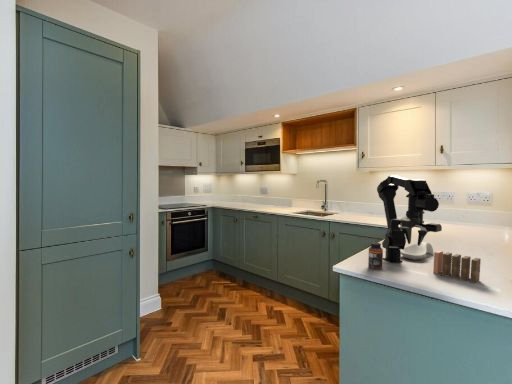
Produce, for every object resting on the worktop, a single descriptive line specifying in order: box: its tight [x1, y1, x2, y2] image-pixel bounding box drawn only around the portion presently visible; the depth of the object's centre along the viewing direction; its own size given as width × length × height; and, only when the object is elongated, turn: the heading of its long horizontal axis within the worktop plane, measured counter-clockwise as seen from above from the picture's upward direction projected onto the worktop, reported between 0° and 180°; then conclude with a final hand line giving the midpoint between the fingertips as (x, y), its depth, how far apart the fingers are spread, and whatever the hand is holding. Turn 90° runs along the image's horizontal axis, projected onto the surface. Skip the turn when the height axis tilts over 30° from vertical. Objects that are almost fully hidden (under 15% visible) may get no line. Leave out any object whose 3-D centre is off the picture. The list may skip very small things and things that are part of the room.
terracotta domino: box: [432, 250, 444, 275], centre depth 122 cm, size 2×5×9 cm, turn 127°
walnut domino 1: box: [441, 251, 453, 277], centre depth 119 cm, size 2×5×9 cm, turn 127°
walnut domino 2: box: [450, 253, 462, 279], centre depth 117 cm, size 2×5×9 cm, turn 127°
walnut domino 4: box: [469, 257, 482, 284], centre depth 112 cm, size 2×5×9 cm, turn 127°
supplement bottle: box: [367, 241, 384, 271], centre depth 127 cm, size 6×6×11 cm
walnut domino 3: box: [459, 255, 472, 282], centre depth 114 cm, size 2×5×9 cm, turn 127°
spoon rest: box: [400, 241, 435, 261], centre depth 147 cm, size 24×12×7 cm, turn 125°
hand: (413, 244), depth 121 cm, fingers open, 4 cm apart
